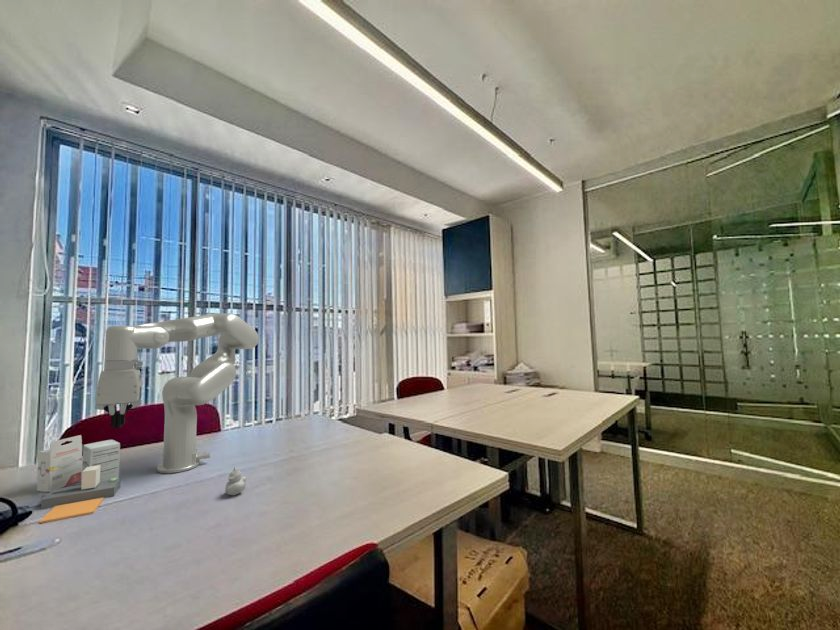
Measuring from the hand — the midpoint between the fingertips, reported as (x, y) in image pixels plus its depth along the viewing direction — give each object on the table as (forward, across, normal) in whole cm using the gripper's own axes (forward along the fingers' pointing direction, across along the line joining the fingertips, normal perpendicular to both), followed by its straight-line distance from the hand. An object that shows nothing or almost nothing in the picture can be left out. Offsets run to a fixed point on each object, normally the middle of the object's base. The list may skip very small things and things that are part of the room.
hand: (117, 427), depth 104 cm
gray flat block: (+19, +7, 0) cm, 20 cm away
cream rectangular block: (+16, +5, 0) cm, 17 cm away
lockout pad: (+19, +6, +9) cm, 22 cm away
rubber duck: (+19, -32, +19) cm, 42 cm away
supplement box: (+19, +5, -9) cm, 22 cm away
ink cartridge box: (+19, +16, -14) cm, 29 cm away
